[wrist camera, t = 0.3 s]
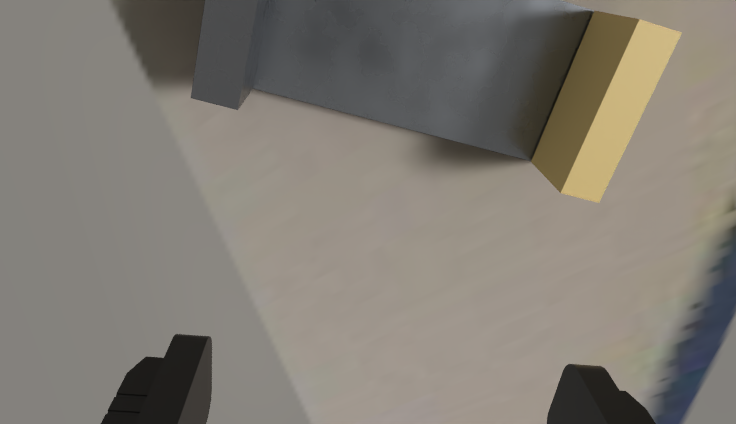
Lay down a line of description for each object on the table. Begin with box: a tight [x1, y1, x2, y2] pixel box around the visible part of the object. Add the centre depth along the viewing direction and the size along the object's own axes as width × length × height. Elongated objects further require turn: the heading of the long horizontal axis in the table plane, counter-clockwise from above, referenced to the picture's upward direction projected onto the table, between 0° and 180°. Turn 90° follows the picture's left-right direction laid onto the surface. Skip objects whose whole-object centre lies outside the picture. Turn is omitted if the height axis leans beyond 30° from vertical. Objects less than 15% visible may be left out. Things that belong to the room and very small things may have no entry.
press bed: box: [191, 0, 594, 161], centre depth 32 cm, size 10×24×8 cm, turn 74°
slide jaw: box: [531, 11, 682, 203], centre depth 33 cm, size 10×2×6 cm, turn 164°
